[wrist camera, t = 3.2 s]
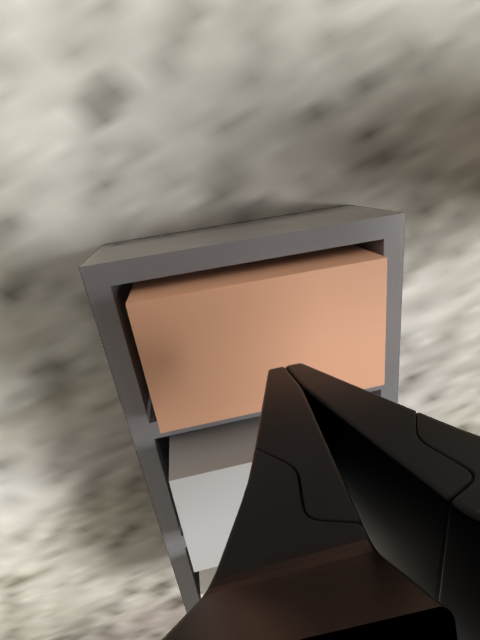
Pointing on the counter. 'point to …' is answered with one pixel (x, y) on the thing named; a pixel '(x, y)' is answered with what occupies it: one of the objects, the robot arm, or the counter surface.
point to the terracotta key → (257, 330)
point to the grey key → (210, 484)
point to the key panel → (207, 253)
